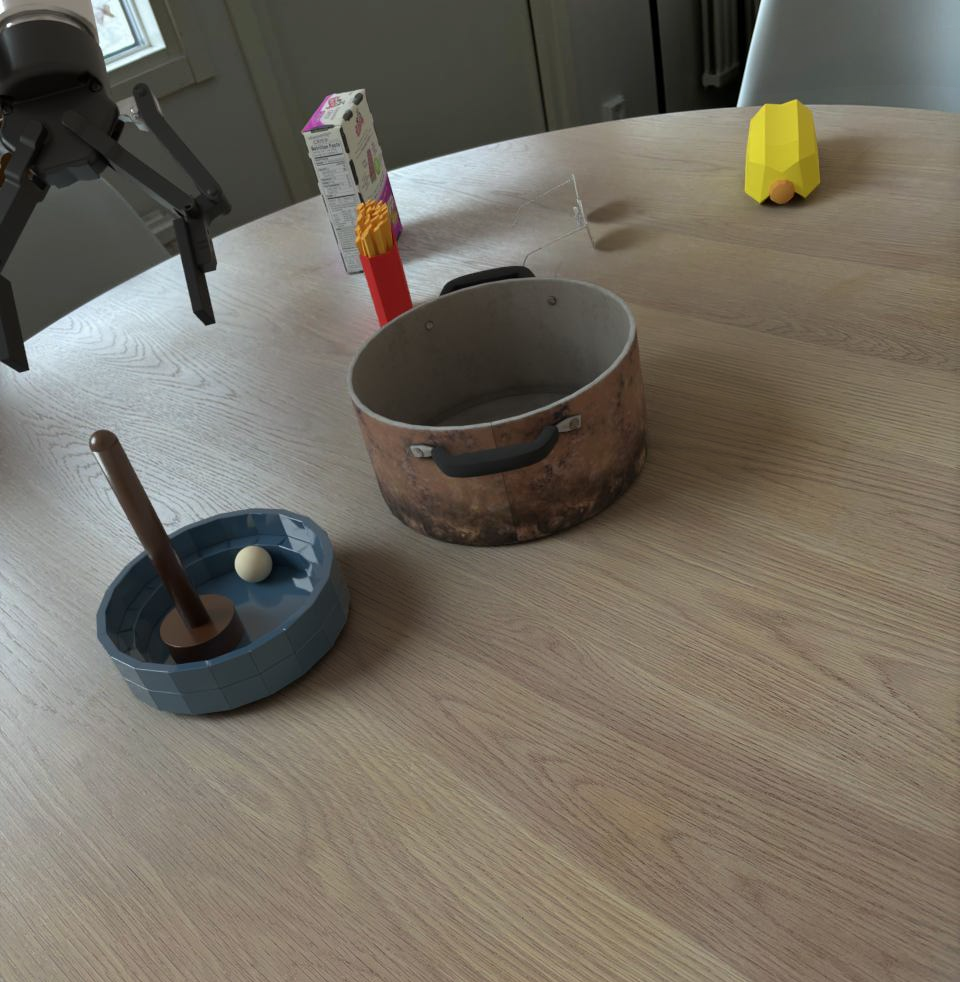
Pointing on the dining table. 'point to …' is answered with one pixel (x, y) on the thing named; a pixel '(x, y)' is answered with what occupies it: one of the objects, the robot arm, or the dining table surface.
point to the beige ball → (253, 564)
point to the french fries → (381, 262)
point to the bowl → (260, 605)
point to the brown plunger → (169, 566)
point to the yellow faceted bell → (781, 153)
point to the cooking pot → (503, 407)
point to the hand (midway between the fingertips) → (109, 342)
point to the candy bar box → (348, 167)
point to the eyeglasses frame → (577, 216)
